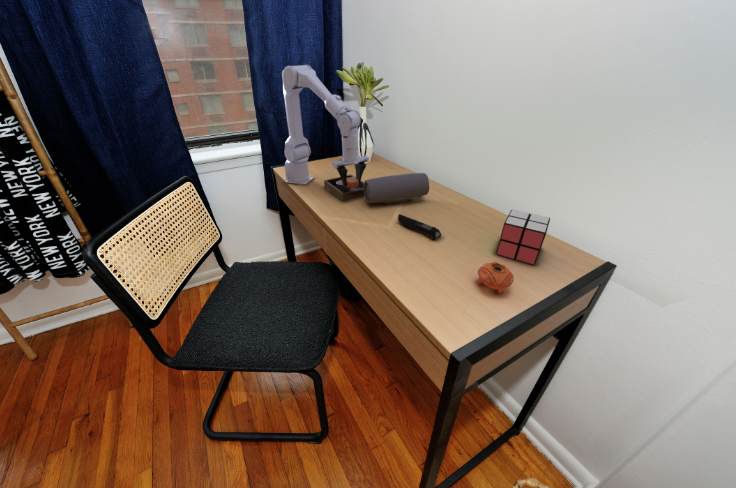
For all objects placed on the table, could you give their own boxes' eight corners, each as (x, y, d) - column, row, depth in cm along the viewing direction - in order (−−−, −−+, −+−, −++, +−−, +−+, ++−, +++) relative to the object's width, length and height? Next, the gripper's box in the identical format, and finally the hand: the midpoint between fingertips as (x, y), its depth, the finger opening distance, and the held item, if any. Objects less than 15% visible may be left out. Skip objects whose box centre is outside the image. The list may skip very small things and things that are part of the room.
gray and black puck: (334, 189, 124) (334, 183, 123) (339, 184, 128) (339, 179, 127) (347, 191, 123) (346, 185, 121) (352, 186, 127) (351, 180, 126)
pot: (482, 269, 79) (494, 250, 75) (509, 289, 76) (523, 270, 71) (466, 282, 74) (477, 263, 70) (494, 304, 71) (508, 285, 66)
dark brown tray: (324, 188, 126) (323, 180, 125) (351, 182, 132) (351, 174, 130) (343, 202, 114) (342, 194, 113) (372, 195, 120) (372, 187, 118)
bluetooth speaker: (417, 192, 122) (419, 168, 116) (428, 202, 114) (431, 176, 109) (363, 200, 116) (362, 174, 111) (370, 210, 109) (370, 184, 103)
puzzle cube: (534, 265, 81) (546, 233, 76) (495, 254, 85) (503, 223, 80) (539, 248, 88) (550, 217, 83) (503, 238, 93) (511, 208, 87)
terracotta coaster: (342, 187, 117) (342, 181, 116) (347, 182, 122) (347, 176, 120) (355, 189, 116) (355, 183, 114) (360, 183, 120) (360, 178, 119)
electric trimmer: (402, 220, 103) (402, 211, 101) (441, 236, 94) (443, 227, 92) (395, 224, 101) (395, 215, 99) (434, 241, 92) (435, 232, 90)
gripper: (337, 153, 105) (339, 190, 112) (373, 147, 111) (373, 182, 118) (328, 148, 110) (330, 184, 117) (363, 142, 116) (363, 177, 123)
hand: (351, 183), depth 118 cm, fingers closed on terracotta coaster, 5 cm apart
